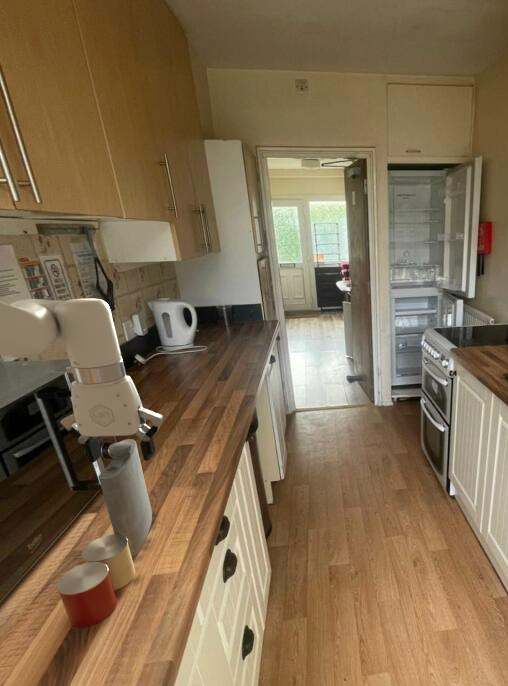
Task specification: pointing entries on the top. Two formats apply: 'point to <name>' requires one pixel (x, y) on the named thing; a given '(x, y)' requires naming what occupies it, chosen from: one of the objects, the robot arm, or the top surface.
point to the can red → (87, 594)
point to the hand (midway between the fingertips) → (123, 458)
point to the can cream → (112, 558)
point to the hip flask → (127, 494)
